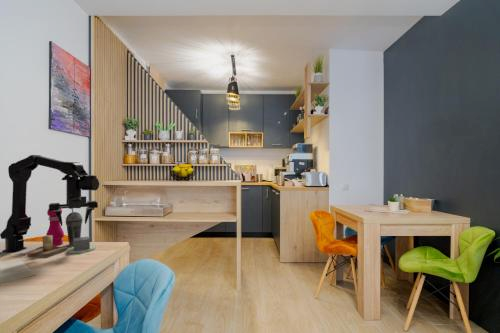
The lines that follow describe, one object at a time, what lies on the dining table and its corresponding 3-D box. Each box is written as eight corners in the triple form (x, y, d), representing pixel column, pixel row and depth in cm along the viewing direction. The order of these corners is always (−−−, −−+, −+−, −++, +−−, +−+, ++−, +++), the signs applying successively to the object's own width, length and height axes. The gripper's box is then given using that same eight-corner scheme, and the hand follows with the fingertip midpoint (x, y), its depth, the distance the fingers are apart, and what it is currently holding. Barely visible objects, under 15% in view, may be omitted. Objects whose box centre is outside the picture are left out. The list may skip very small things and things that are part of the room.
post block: (27, 256, 124) (27, 238, 124) (48, 249, 134) (47, 233, 134) (47, 257, 123) (47, 239, 122) (66, 250, 132) (66, 233, 132)
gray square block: (73, 248, 134) (73, 238, 134) (88, 246, 137) (88, 236, 137) (74, 251, 129) (74, 241, 129) (89, 249, 132) (89, 239, 132)
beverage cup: (86, 242, 145) (85, 202, 145) (73, 246, 138) (72, 204, 138) (75, 241, 148) (74, 202, 148) (62, 245, 141) (61, 203, 141)
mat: (61, 252, 129) (61, 251, 129) (80, 245, 140) (80, 244, 140) (83, 253, 127) (83, 252, 127) (100, 246, 137) (100, 245, 137)
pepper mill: (67, 242, 146) (66, 202, 146) (56, 246, 139) (55, 204, 139) (54, 242, 147) (53, 202, 147) (42, 246, 140) (41, 204, 140)
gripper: (48, 192, 121) (48, 230, 121) (99, 190, 131) (99, 225, 131) (48, 190, 130) (48, 225, 130) (96, 188, 140) (96, 221, 140)
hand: (73, 224), depth 133 cm, fingers open, 9 cm apart
